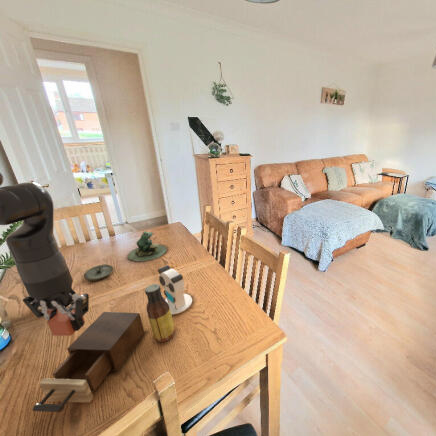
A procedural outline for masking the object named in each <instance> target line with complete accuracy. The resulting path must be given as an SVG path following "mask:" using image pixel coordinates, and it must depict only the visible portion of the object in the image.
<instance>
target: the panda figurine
mask: <svg viewBox="0 0 436 436" xmlns="http://www.w3.org/2000/svg"><path fill="white" fill-rule="evenodd" d="M157 272H158V274H159V276H158V280H159V283H160V286H162V288H163V289H164V290H163V294H164V296H165V298H164V299H165V300H166V302H167V303H168V304H169V307H170V311H171V315H178V314H181V313H183V312H185V311H186V310H188V309H189V308H190V307H191V305H192V303H193V298H192V296H191V295H190V294H188V293H184V292H185V291H186V287H185V282H184V276H183V275H182V274H181V273H179V271H177V270H176V269H174V268H170V266H169V265H168V264H167V265H165V266H161V267H160V268H158V269H157Z"/></svg>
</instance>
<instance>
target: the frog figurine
mask: <svg viewBox="0 0 436 436" xmlns="http://www.w3.org/2000/svg"><path fill="white" fill-rule="evenodd" d="M153 235H154V233H153V232H152V231H143V232H142V233H141V236H140V238H139V239H138V240H137V241H136V243H135V244H136V246H137V248H135V249H132V250H131V251H130V252H129V253H128V255H127V258H128V259H129V260H130V261H133V262H146V261H153V260H155V259H158V258H160V257H162V256H164V255H165V253H166V252H167V250H168V249H167V247H166V246H165V245H162V244H159V243H157V242H156V243H155V242H153V241H152V239H151V237H152V236H153Z"/></svg>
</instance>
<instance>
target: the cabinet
mask: <svg viewBox="0 0 436 436" xmlns="http://www.w3.org/2000/svg"><path fill="white" fill-rule="evenodd" d="M143 335H145V329H144V325H143V321H142V318H141V313H140V312H121V311H103V312H101V314H100V315H99V316H98V317H97V318H96V319H95V320H94V321H93V322H92V323H91V324H90V325H89V326H88V327H87V328H86V329H84V331H83V332H82V333H81V334H80V335H79V336H78V337H77V338H76V339H75V340H74V341H73V342H71V344H70V345H69V346H68V347H67V348H66V349H67V350H66V351H67V352H68V355H70V354H71V353H72V352H73V351H92V352H108V355H109V358H110V361H111V363H112V366H113V367H112V368H111V370H110V371H109V372H119V369H120V368H121V367H122V366H123V364H124V362H125V361H126V359H127V358H128V357H129V355H130V354H131V353H132V351H133V349H134V348H135V347H136V345H137V344H138V342H139V341H140V340H141V339H142V337H143Z"/></svg>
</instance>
